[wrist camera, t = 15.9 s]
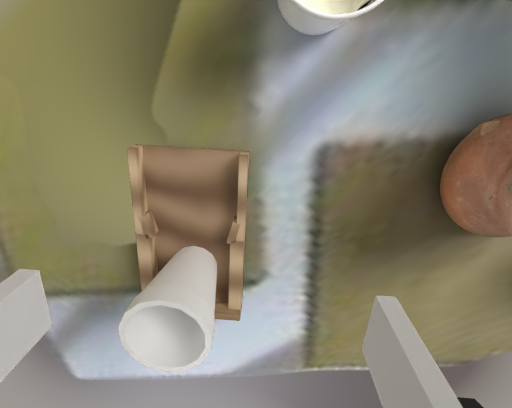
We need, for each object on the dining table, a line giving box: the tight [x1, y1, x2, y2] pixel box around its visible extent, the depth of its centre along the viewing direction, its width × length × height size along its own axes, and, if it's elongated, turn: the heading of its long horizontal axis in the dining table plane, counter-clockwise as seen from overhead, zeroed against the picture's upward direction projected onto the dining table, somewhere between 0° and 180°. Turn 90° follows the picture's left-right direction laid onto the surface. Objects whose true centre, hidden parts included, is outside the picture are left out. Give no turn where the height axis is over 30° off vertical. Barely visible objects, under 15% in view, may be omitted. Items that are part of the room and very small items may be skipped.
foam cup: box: [118, 246, 217, 372], centre depth 36 cm, size 10×9×13 cm
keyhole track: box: [127, 144, 249, 321], centre depth 39 cm, size 23×14×4 cm, turn 177°
